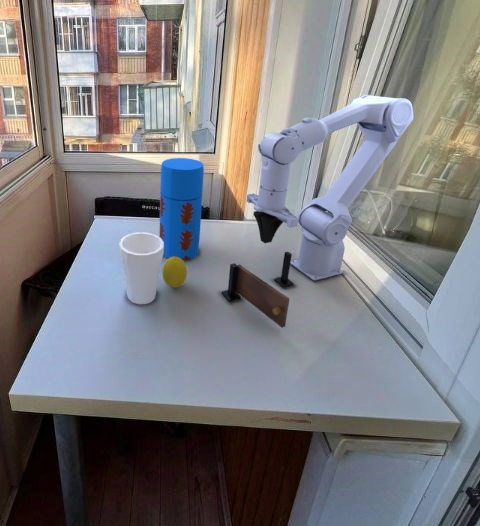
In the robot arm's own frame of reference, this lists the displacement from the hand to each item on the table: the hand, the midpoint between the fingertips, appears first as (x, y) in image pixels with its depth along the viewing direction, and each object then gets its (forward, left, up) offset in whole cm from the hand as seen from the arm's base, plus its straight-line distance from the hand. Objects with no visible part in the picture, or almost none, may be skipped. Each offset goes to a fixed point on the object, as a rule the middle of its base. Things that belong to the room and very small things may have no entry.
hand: (266, 241), depth 78 cm
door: (+9, +10, -8) cm, 16 cm away
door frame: (+4, +4, -9) cm, 11 cm away
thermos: (+14, -17, -10) cm, 24 cm away
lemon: (+22, -3, -10) cm, 24 cm away
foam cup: (+30, -3, -10) cm, 32 cm away
